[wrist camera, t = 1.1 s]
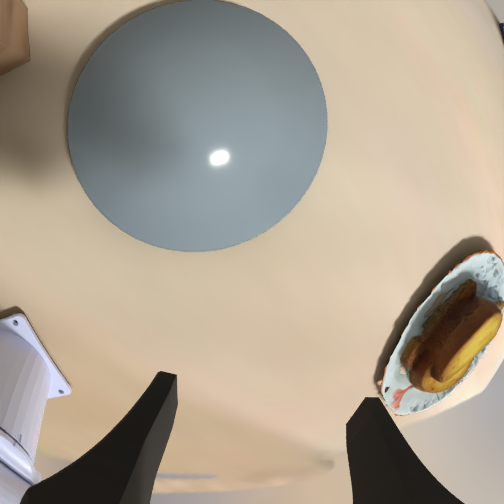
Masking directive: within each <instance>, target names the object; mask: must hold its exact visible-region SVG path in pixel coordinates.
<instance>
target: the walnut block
mask: <svg viewBox="0 0 504 504" xmlns="http://www.w3.org/2000/svg"><path fill="white" fill-rule="evenodd" d="M28 61H30V50H29V36H28V10H27V7H26V6H25V5H24V4H23V3H22V1H21V0H0V76H2V75H4V74H5V73H7V72H9V71H11V70H12V69H14V68H16V67H18V66H20V65H22V64H24V63H26V62H28Z"/></svg>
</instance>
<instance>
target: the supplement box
mask: <svg viewBox="0 0 504 504" xmlns="http://www.w3.org/2000/svg"><path fill="white" fill-rule="evenodd" d="M500 27H501V29H502V33H503V36H504V23H500Z"/></svg>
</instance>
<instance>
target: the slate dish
mask: <svg viewBox="0 0 504 504" xmlns="http://www.w3.org/2000/svg"><path fill="white" fill-rule="evenodd" d="M326 136H327V108H326V101H325V96H324V92H323V88H322V85H321V82H320V79H319V77H318V74H317V72H316V70H315V68H314V66H313V64H312V62H311V61H310V59H309V57H308V56H307V54H306V53H305V52H304V50H303V49H302V48H301V46H300V45H299V44H298V43H297V41H296V40H295V39H294V38H293V37H292V36H291V35H290V34H289V33H288V32H287V31H285V30H284V29H283V28H282V27H280V26H279V25H278V24H276V23H275V22H274V21H272V20H270V19H269V18H267V17H265V16H264V15H262V14H260V13H258V12H255V11H253V10H251V9H248V8H246V7H243V6H239V5H236V4H232V3H228V2H222V1H215V0H188V1H180V2H175V3H170V4H166V5H162V6H159V7H157V8H154V9H151V10H149V11H146V12H144V13H142V14H140V15H138V16H136V17H135V18H133V19H131V20H129V21H128V22H126V23H125V24H123V25H122V26H121V27H119V28H118V29H117V30H115V31H114V32H113V33H112V34H111V35H110V36H109V37H108V38H107V39H106V40H105V41H104V42H103V43H102V44H101V45H100V46H99V47H98V48H97V50H96V51H95V52H94V53H93V55H92V56H91V57H90V59H89V60H88V62H87V64H86V65H85V67H84V69H83V71H82V72H81V74H80V76H79V79H78V81H77V84H76V86H75V89H74V92H73V95H72V99H71V103H70V107H69V116H68V145H69V150H70V155H71V160H72V164H73V167H74V169H75V172H76V175H77V178H78V180H79V182H80V184H81V186H82V187H83V189H84V191H85V193H86V194H87V196H88V197H89V199H90V200H91V201H92V203H93V204H94V206H95V207H96V208H97V209H98V210H99V211H100V212H101V213H102V214H103V215H104V216H105V217H106V218H107V219H108V220H109V221H110V222H111V223H113V224H114V225H115V226H117V227H118V228H119V229H120V230H122V231H124V232H125V233H127V234H129V235H130V236H132V237H134V238H136V239H138V240H140V241H143V242H145V243H148V244H150V245H153V246H157V247H160V248H164V249H168V250H175V251H183V252H205V251H213V250H220V249H224V248H228V247H232V246H235V245H238V244H240V243H243V242H246V241H248V240H251V239H253V238H254V237H256V236H258V235H260V234H262V233H264V232H265V231H267V230H268V229H270V228H271V227H273V226H274V225H275V224H277V223H278V222H279V221H280V220H282V219H283V218H284V217H285V216H286V215H287V214H288V213H289V212H290V211H291V210H292V209H293V208H294V207H295V206H296V205H297V203H298V202H299V201H300V200H301V199H302V197H303V196H304V194H305V193H306V191H307V190H308V188H309V187H310V185H311V183H312V181H313V179H314V177H315V175H316V173H317V171H318V168H319V166H320V163H321V160H322V157H323V153H324V149H325V144H326Z"/></svg>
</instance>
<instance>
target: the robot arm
mask: <svg viewBox="0 0 504 504" xmlns="http://www.w3.org/2000/svg"><path fill="white" fill-rule="evenodd" d="M14 320H16V321H17V322H18V323H16V322H15V321H14ZM62 390H63V391H62ZM71 391H72V388H71V386H70V385H69V384H68V382H67V381H66V380H65V378H64V377H63V375H62V374H61V373H60V371H59V370H58V368H57V367H56V365H55V364H54V362H53V361H52V359H51V358H50V356H49V355H48V353H47V352H46V350H45V349H44V347H43V345H42V344H41V342H40V341H39V339H38V337H37V336H36V334H35V332H34V331H33V329H32V327H31V325H30V324H29V322H28V320H27V318H26V317H25V315H23V314H22V313H17V314H15V315H12V316H9V317H6V318H3V319H0V504H150V499H151V494H152V490H153V485H154V481H155V477H156V474H157V471H158V468H159V465H160V462H161V459H162V456H163V453H164V451H165V448H166V445H167V442H168V439H169V436H170V433H171V430H172V428H173V423H174V419H175V414H176V410H177V405H178V400H177V375H176V374H171V373H167V372H163V371H160V372H158V373H157V375H156V376H155V378H154V379H153V381H152V382H151V384H150V385H149V387H148V388H147V389H146V391H145V392H144V393H143V395H142V396H141V397H140V399H139V400H138V401H137V402H136V404H135V405H134V406H133V407H132V408H131V410H130V411H129V412H128V413H127V414H126V415H125V417H124V418H123V419H122V420H121V421H120V422H119V423H118V424H117V425H116V426H115V427H114V428H113V429H112V430H111V431H110V432H109V433H108V434H107V435H106V436H105V437H104V438H103V439H102V440H101V441H100V442H99V443H97V444H96V445H95V446H94V447H93V448H92V449H90V450H89V451H88V452H86V453H85V454H84V455H83V456H81V457H80V458H79V459H77V460H76V461H75V462H73V463H72V464H70V465H69V466H67V467H65V468H64V469H62V470H61V471H59V472H58V473H56V474H54V475H53V476H51V477H49V478H47V479H45V480H43V481H41V474H40V473H39V472H38V471H36V469H35V468H34V461H35V454H36V449H37V443H38V438H39V432H40V428H41V423H42V418H43V414H44V409H45V405H46V401H47V399H49V398H54V397H59V396H64V395H68V394H70V393H71ZM346 444H347V453H348V461H349V468H350V475H351V482H352V492H353V504H464V503H463V502H462V501H460V500H459V499H457V498H456V497H455V496H454V495H453V494H451V493H450V492H449V491H448V490H447V489H446V488H445V487H444V486H443V485H442V484H441V483H440V482H439V481H437V479H436V478H435V477H434V476H433V475H432V474H431V473H430V472H429V471H428V469H427V468H426V467H425V466H424V465H423V463H422V462H421V461H420V460H419V458H418V457H417V456H416V454H415V453H414V452H413V450H412V449H411V447H410V446H409V445H408V443H407V441H406V440H405V438H404V437H403V435H402V434H401V433H400V431H399V429H398V428H397V426H396V424H395V423H394V421H393V419H392V418H391V416H390V415H389V413H388V411H387V410H386V408H385V406H384V405H383V403H382V402H381V400H380V399H379V397H365V399H364V400H363V402H362V403H361V404H360V406H359V407H358V409H357V410H356V412H355V413H354V414H353V416H352V417H351V418H350V420H349V421H348V422H347V424H346Z"/></svg>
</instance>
